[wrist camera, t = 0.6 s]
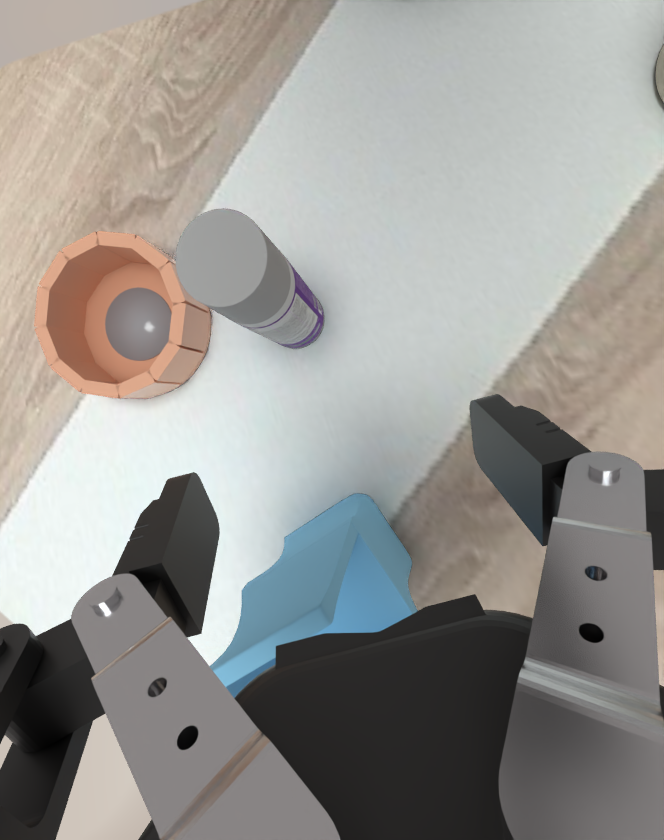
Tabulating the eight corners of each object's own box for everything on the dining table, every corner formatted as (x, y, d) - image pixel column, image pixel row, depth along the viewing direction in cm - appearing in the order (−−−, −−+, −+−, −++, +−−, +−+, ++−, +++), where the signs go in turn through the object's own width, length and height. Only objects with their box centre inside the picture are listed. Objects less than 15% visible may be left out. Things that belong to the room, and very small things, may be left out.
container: (268, 289, 35) (173, 206, 20) (325, 289, 34) (271, 203, 19) (266, 348, 35) (171, 309, 20) (323, 349, 34) (268, 310, 19)
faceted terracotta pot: (86, 247, 37) (43, 225, 32) (219, 260, 35) (193, 239, 30) (73, 386, 37) (28, 384, 33) (202, 406, 36) (174, 406, 31)
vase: (419, 569, 34) (454, 808, 14) (337, 618, 35) (263, 903, 15) (363, 486, 34) (320, 604, 14) (284, 537, 35) (143, 712, 16)
